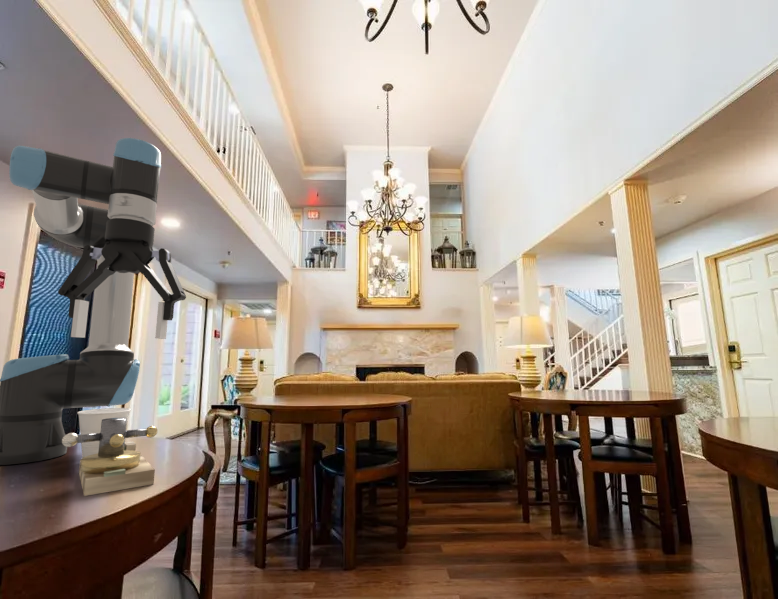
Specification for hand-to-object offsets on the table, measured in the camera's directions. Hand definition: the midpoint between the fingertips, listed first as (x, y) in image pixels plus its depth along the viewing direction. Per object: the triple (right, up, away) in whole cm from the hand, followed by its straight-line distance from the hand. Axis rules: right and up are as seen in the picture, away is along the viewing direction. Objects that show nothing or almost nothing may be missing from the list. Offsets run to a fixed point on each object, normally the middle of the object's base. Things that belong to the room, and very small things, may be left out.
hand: (119, 338), depth 71 cm
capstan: (-4, -24, +3) cm, 24 cm away
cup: (-16, -29, +17) cm, 37 cm away
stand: (-4, -27, +4) cm, 27 cm away
